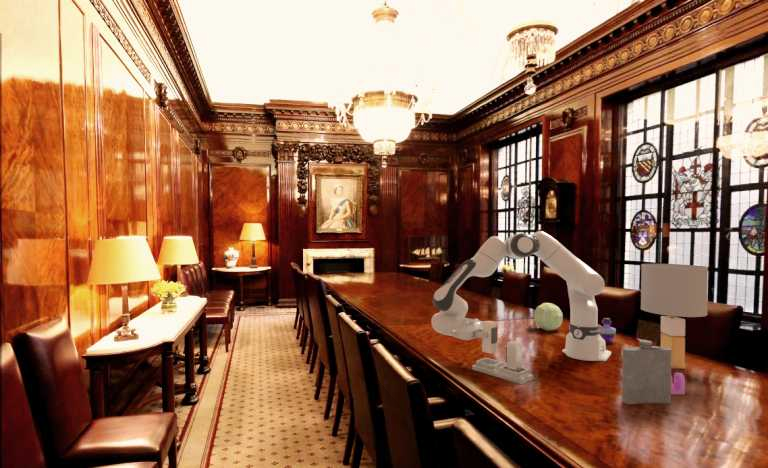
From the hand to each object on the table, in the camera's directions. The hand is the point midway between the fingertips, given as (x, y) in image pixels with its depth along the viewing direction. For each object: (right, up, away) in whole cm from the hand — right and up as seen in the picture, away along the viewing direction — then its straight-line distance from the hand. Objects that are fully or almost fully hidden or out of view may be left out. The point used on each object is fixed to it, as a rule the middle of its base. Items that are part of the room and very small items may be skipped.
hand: (491, 334), depth 168 cm
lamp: (+77, -15, +8) cm, 79 cm away
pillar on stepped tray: (+3, -15, -3) cm, 15 cm away
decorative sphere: (+50, -14, +70) cm, 87 cm away
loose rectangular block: (-1, -7, +1) cm, 7 cm away
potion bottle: (+70, -15, +45) cm, 84 cm away
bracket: (+58, -15, -16) cm, 62 cm away
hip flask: (+43, -15, -29) cm, 54 cm away
